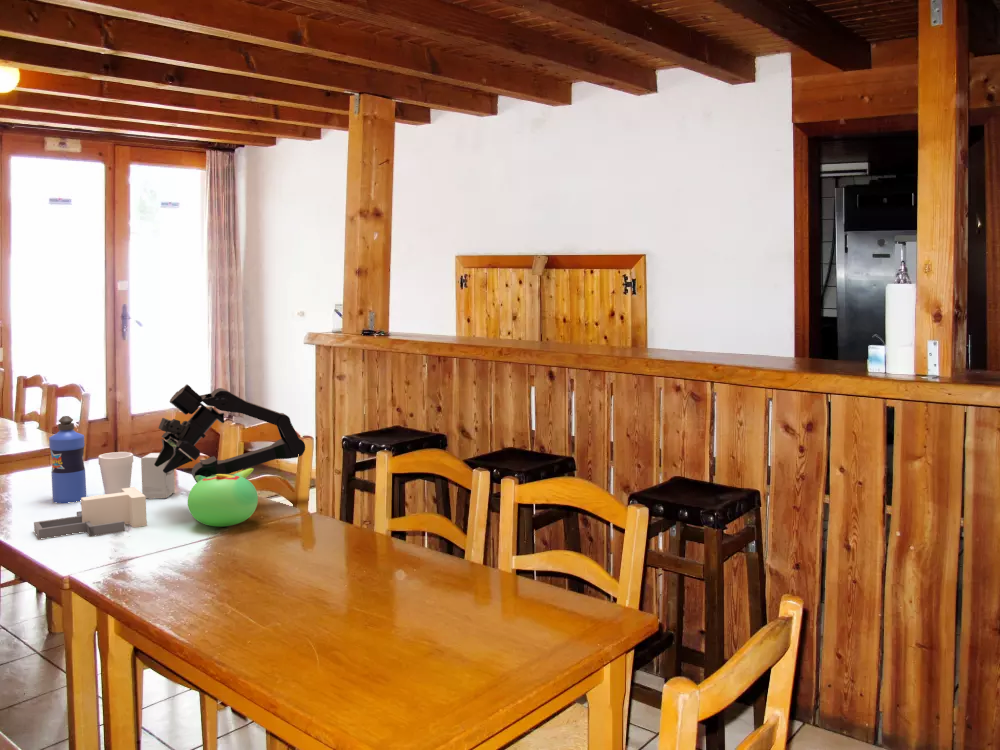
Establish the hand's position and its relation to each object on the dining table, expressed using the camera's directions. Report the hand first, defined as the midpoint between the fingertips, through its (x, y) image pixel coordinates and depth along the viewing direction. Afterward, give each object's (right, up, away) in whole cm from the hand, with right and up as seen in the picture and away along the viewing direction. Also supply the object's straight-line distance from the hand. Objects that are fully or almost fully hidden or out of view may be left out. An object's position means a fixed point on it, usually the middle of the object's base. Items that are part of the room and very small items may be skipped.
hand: (159, 468), depth 243 cm
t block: (-10, -14, -6) cm, 19 cm away
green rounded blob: (+19, -15, -5) cm, 25 cm away
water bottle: (-34, -11, +18) cm, 40 cm away
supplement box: (-9, -11, +24) cm, 28 cm away
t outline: (-17, -15, -11) cm, 25 cm away
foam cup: (-21, -11, +21) cm, 31 cm away
